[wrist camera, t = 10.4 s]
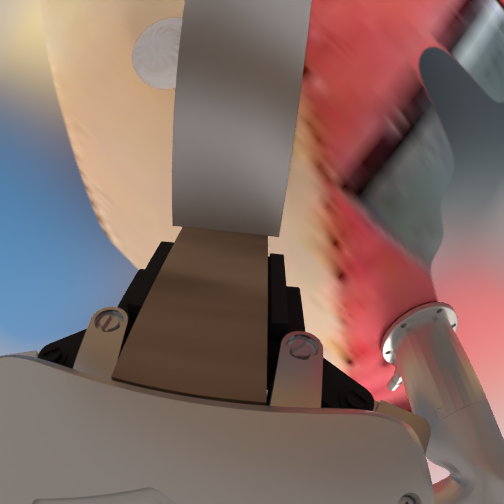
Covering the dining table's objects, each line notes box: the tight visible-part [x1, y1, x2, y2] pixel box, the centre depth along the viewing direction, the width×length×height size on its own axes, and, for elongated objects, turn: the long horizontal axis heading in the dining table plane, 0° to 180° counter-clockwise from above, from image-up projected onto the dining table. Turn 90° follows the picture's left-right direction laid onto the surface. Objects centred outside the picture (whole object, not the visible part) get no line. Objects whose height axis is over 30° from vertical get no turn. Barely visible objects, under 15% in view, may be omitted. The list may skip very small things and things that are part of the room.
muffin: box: [132, 17, 183, 89], centre depth 18 cm, size 6×6×7 cm
